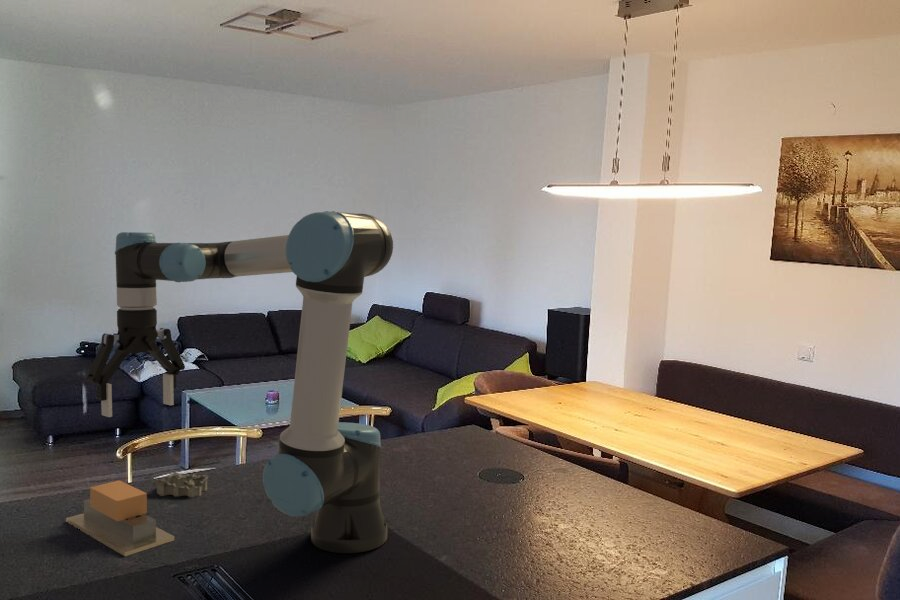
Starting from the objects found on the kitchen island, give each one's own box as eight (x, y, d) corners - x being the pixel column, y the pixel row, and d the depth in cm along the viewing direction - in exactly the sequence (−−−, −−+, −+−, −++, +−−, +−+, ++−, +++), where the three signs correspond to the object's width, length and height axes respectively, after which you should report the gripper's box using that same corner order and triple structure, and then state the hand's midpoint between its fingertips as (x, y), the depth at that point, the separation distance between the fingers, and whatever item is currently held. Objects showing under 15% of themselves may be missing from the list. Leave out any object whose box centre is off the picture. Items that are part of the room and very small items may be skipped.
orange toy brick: (147, 527, 148) (146, 493, 148) (117, 536, 144) (117, 501, 143) (119, 513, 155) (119, 480, 155) (90, 521, 151) (90, 487, 150)
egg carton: (152, 496, 169) (152, 479, 169) (168, 485, 177) (168, 468, 176) (196, 499, 168) (196, 482, 168) (211, 488, 176) (211, 471, 175)
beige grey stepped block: (174, 540, 146) (174, 518, 145) (124, 556, 138) (124, 534, 138) (113, 508, 161) (113, 489, 160) (66, 521, 153) (65, 501, 153)
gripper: (180, 302, 165) (181, 397, 167) (66, 310, 145) (69, 417, 147) (200, 305, 160) (201, 402, 162) (85, 313, 140) (88, 424, 142)
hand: (138, 410), depth 154 cm, fingers open, 13 cm apart
